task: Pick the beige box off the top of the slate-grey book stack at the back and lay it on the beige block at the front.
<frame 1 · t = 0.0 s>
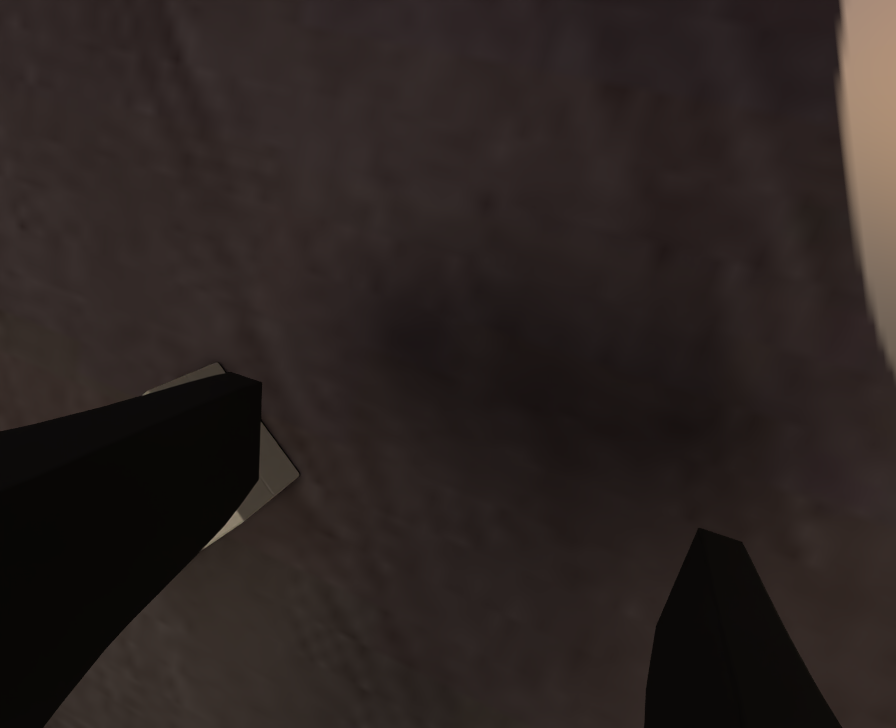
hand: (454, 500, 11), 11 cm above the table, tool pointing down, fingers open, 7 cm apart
beige block: (190, 470, 26), on the table
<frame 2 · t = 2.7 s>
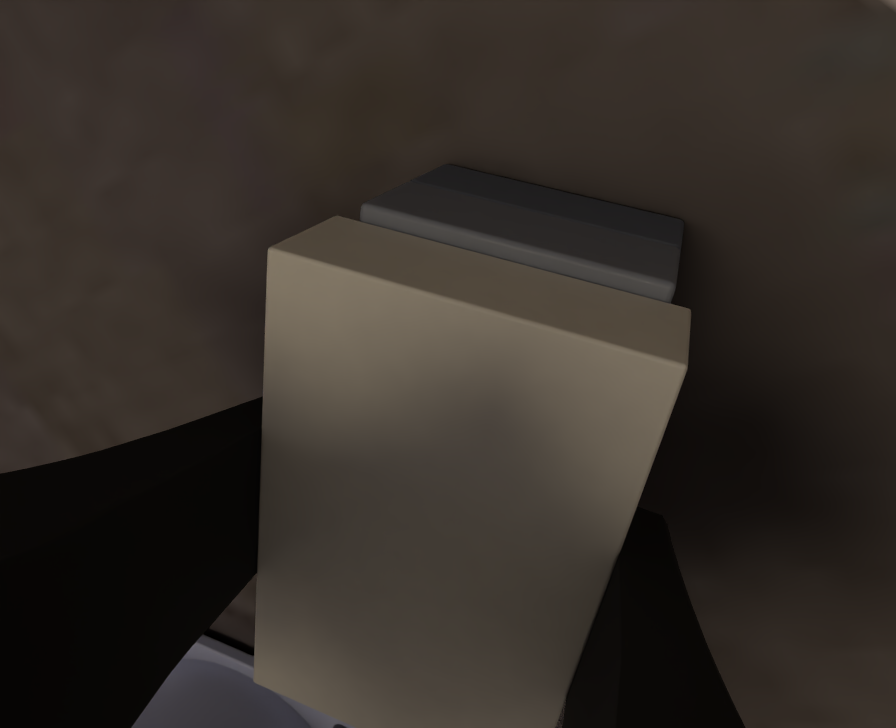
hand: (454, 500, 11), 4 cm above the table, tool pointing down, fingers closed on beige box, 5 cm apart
beige box: (455, 491, 11), point 4 cm above the table, touching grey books, gripper
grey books: (512, 393, 14), on the table, touching beige box
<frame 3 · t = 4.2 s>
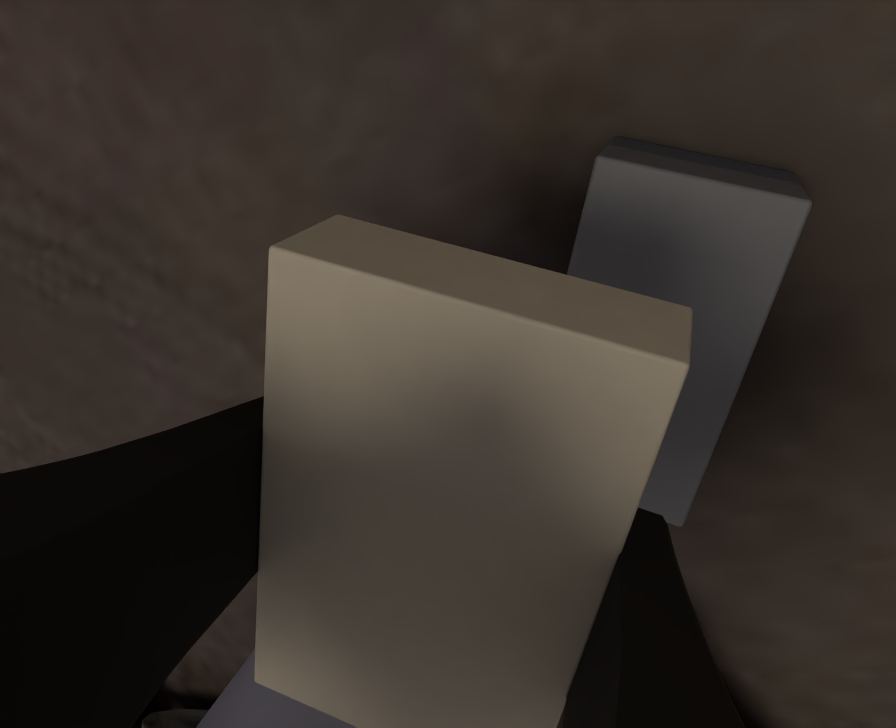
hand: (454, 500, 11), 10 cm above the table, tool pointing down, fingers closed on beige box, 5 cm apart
beige box: (456, 491, 11), point 10 cm above the table, touching gripper
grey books: (653, 308, 19), on the table
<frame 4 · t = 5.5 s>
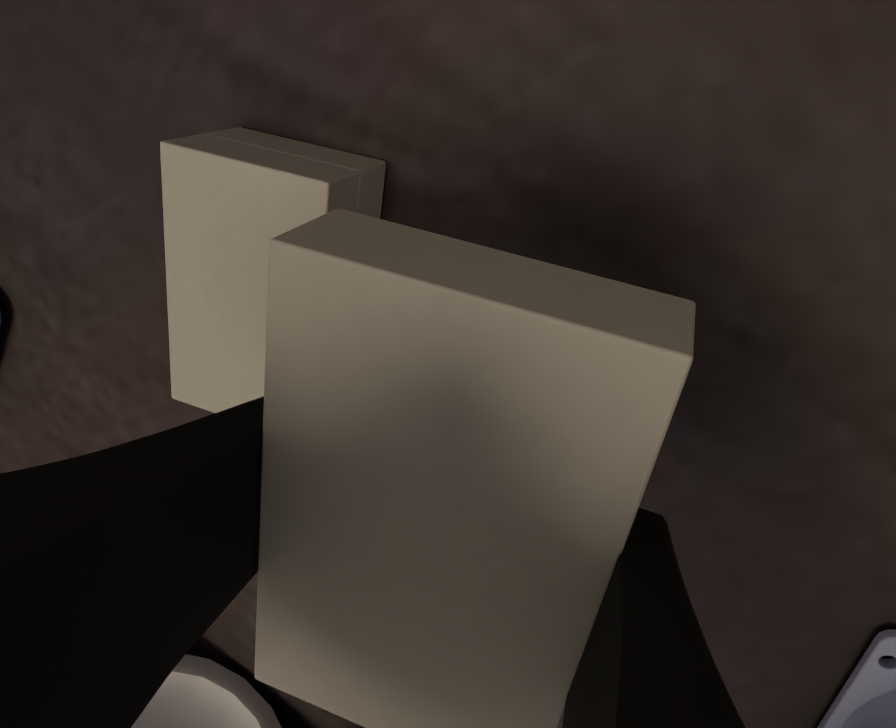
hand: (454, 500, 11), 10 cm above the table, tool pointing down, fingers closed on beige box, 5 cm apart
beige box: (457, 487, 11), point 10 cm above the table, touching gripper
beige block: (304, 268, 22), on the table
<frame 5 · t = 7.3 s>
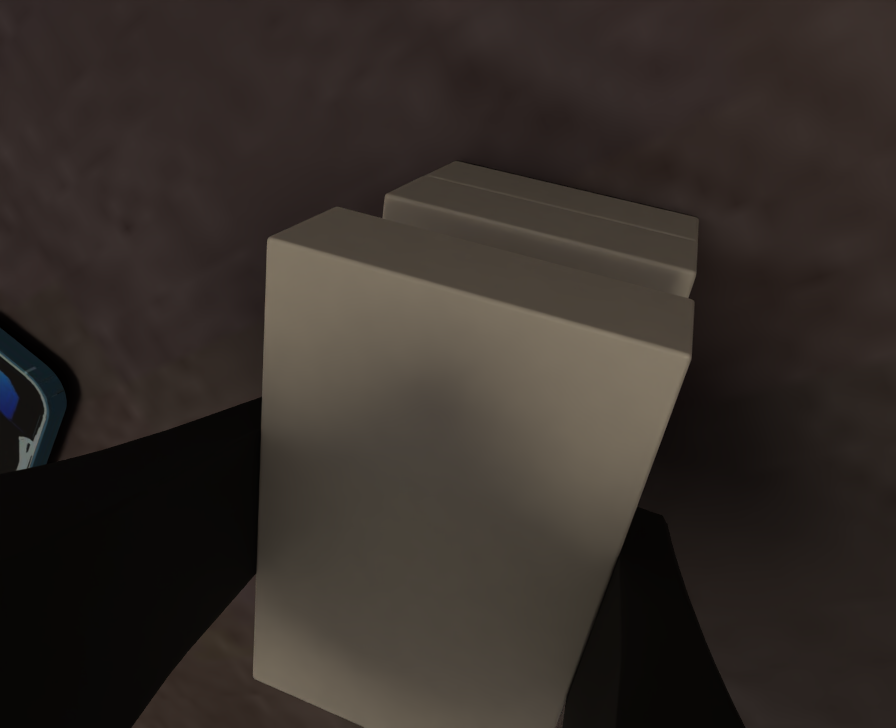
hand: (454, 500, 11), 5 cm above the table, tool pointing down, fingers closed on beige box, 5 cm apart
beige box: (456, 486, 11), point 5 cm above the table, touching gripper
beige block: (529, 362, 15), on the table
when the fingers open (4 cm above the table, at t = 8.3 s): beige box stays where it is, resting on beige block.
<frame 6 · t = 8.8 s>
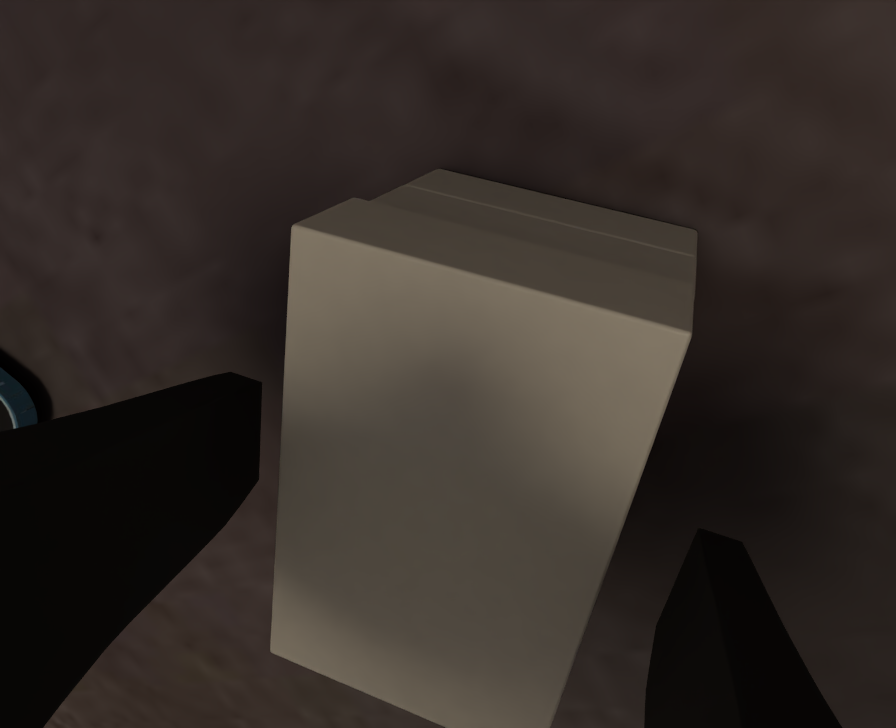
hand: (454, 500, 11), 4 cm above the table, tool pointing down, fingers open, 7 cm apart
beige box: (466, 466, 11), point 4 cm above the table, touching beige block
beige block: (518, 381, 15), on the table, touching beige box
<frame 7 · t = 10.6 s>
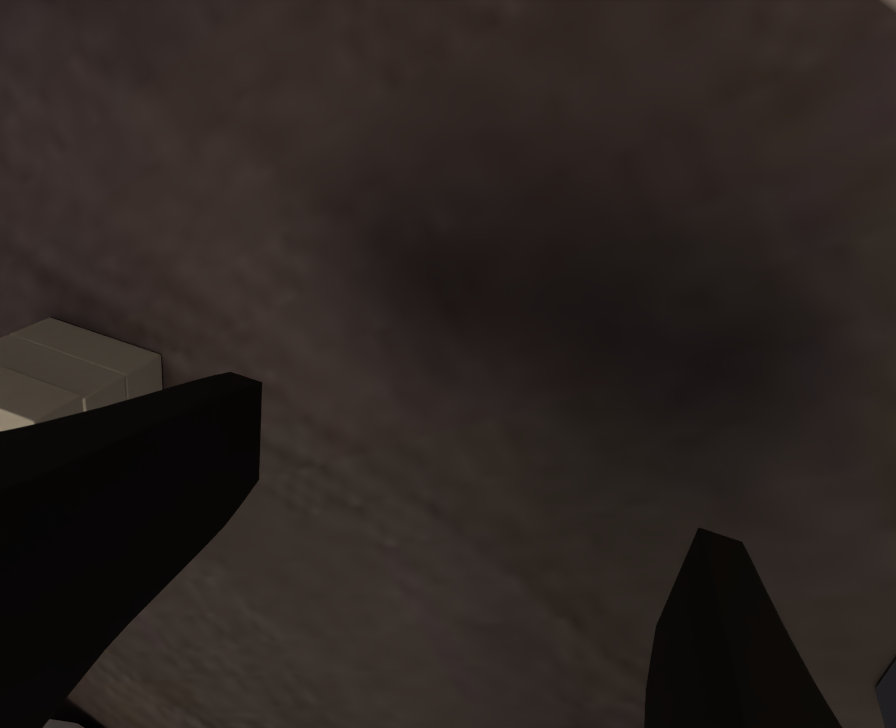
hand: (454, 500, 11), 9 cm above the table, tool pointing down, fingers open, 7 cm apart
beige box: (33, 470, 24), point 4 cm above the table, touching beige block
beige block: (112, 424, 27), on the table, touching beige box
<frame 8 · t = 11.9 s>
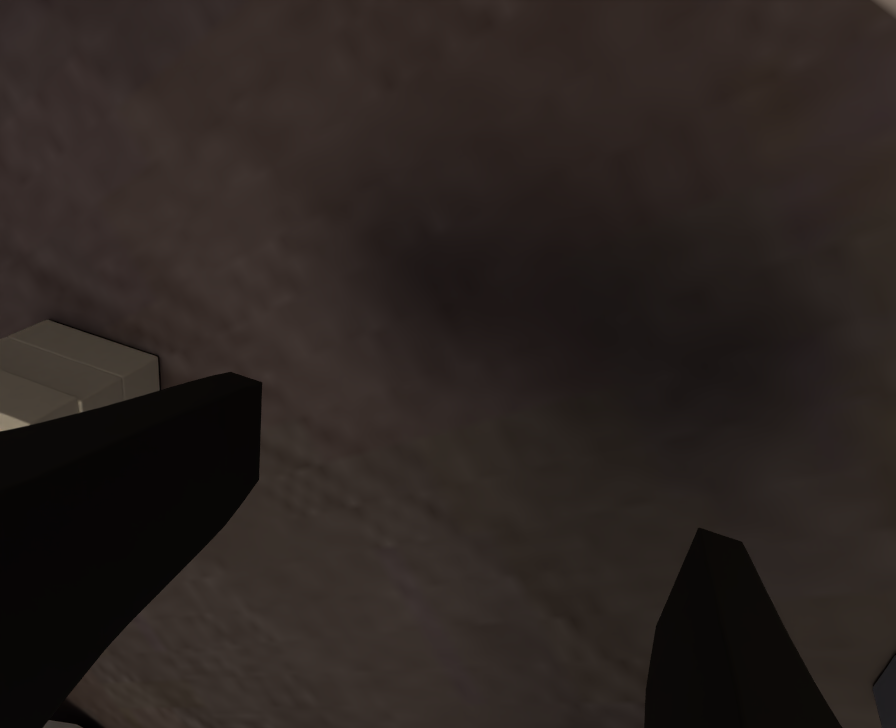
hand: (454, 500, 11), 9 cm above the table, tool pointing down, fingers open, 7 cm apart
beige box: (30, 472, 24), point 4 cm above the table, touching beige block
beige block: (110, 426, 27), on the table, touching beige box
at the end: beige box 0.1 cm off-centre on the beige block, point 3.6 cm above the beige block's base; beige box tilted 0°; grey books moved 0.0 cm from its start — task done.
